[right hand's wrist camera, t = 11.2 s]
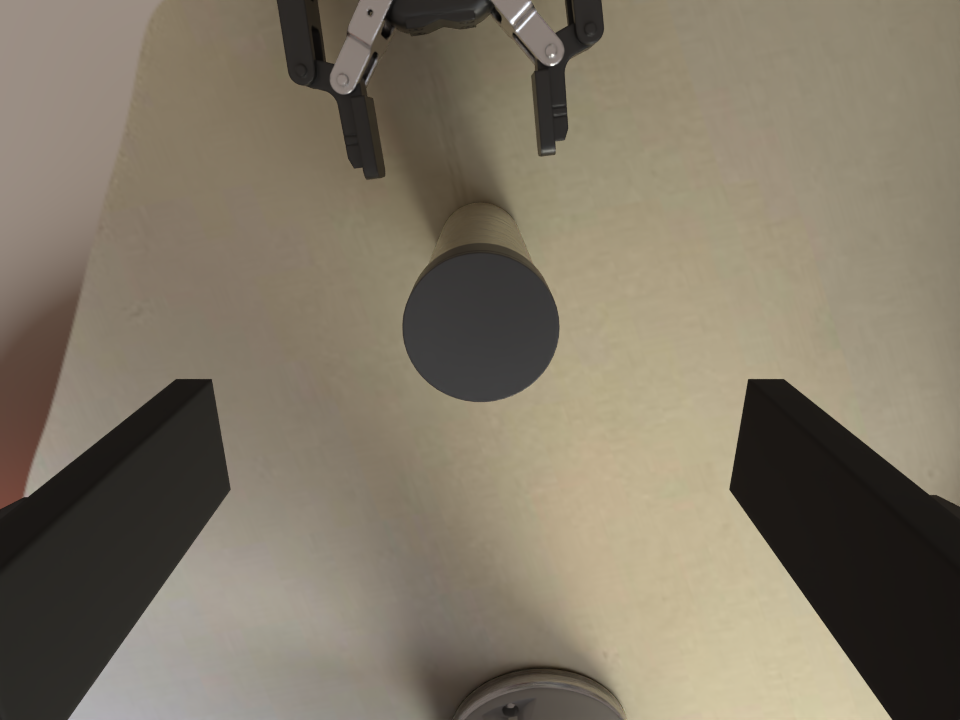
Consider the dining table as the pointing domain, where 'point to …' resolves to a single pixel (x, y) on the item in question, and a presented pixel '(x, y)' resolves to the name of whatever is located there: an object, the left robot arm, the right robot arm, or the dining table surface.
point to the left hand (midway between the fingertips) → (460, 166)
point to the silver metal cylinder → (480, 229)
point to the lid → (480, 323)
